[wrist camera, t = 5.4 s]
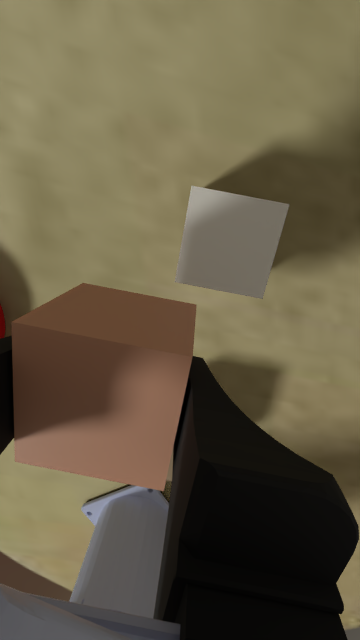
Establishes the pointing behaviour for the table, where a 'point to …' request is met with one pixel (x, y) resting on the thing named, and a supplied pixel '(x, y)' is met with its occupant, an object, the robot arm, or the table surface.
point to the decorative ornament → (2, 323)
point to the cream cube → (229, 241)
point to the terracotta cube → (101, 383)
